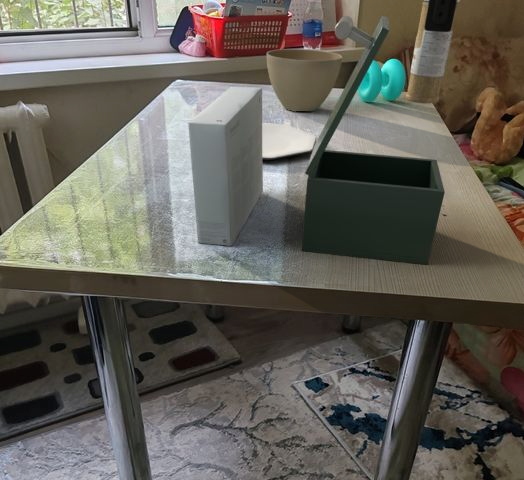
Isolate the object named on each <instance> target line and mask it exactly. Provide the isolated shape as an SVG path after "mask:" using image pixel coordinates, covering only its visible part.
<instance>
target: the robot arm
mask: <svg viewBox="0 0 524 480" xmlns="http://www.w3.org/2000/svg"><path fill="white" fill-rule="evenodd" d="M456 3H457V0H429V4H428V9H427V15H426V21H425V26H424V28H425V30H426V31H439V32H449V31H450V30H451V28H452V23H453V18H454V13H455V8H456Z"/></svg>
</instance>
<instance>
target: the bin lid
mask: <svg viewBox="0 0 524 480" xmlns="http://www.w3.org/2000/svg"><path fill="white" fill-rule="evenodd" d="M389 23H390V21H389V18H388V17H386V16H385V15H381V18H380V19H379V21H378V23H377V25H376V27H375V29H374V31H373V33H372V35H370V34H369V33H367V32H365V31H364V30H362V29H361V28H359V27H357V26H356V25H354V24H355V23H354V19H353V18H352V17H350V16H349V15H344V16H342V17H341V18H340V19H339V20H338V22H337V24H336V25H335V27H334V34H335V37H336V38H337V39H338V40H341V41H345V40H347V39H350V40H352V41H353V42H355V43H356V44H358V45H360V46H362V47H363V48H364V49H363V52H362V54H361V56H360V58H359V60H358V61H357V64H356V65H355V67H354V68H353V71H352V73H351V75H350V77H349V79H348V80H347V82H346V85H345V86H344V88H343V89H342V92H341V94H340V96H339V98H338V100H337V102H336V103H335V105H334V107H333V109H332V111H331V113H330V115H329V117H328V119H327V120H326V123H325V124H324V126H323V128H322V130H321V132H320V134H319V136H318V138H317V139H316V141H315V144H314V148H313V151H311V154H310V157H309V160H308V163H307V166H306V169H305V171H304V174H305V175H307V177H308V176H311V175H312V173H313V171H314V169H315V167H316V166H317V164H318V162H319V160H320V158H321V156H322V154H323V153H324V151H325V150H327V147H328V145H329V143H330V142H331V140H332V138H333V136H334V134H335V133H336V130H337V128H338V127H339V125H340V123H341V121H342V119H343V117H344V116H345V113H346V112H347V110H348V109H349V106H350V104H351V103H352V101H353V99H354V98H355V96H356V93H357V90H358V88H359V86H360V84H361V82H362V80H363V78H364V77H365V75H366V73H367V71H368V69H369V67H370V65H371V64H372V62H373V60H374V61H375V58H376V56H377V54H378V52H379V51H380V49H381V47H382V45H383V43H384V41H385V39H386V38H387V36H388V34H389V32H390V24H389Z"/></svg>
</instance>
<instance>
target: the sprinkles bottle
mask: <svg viewBox="0 0 524 480" xmlns="http://www.w3.org/2000/svg"><path fill="white" fill-rule="evenodd" d="M460 2H461V0H457V3H456V8H455V13H454V18H453V23H452V28H451V30H450V31H449V32H439V31H426V30H425V28H424V26H425V21H426V15H427V9H428V4H429V0H423V2H422V8H421V12H420V19H419V24H418V30H417V35H416V38H415V42H414V43H415V44H414V50H413V56H412V61H411V67H410V76H409V80H408V85H407V86H408V87H407V92H406V94H405V99H406V100H407V101H408V102H411V103H417V104H423V105H424V104H426V105H430V104H435V103H438V102H439V100H440V92H441V88H442V83H443V79H444V78H443V77H444V75H445V71H446V66H447V63H448V62H447V61H448V56H449V53H450V47H451V43H452V37H453V33H454V31H453V30H454V24H455V19H456V16H457V11H458V10H457V9H458V7H459V3H460Z"/></svg>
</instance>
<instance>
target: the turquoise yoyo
mask: <svg viewBox="0 0 524 480" xmlns="http://www.w3.org/2000/svg"><path fill="white" fill-rule="evenodd" d="M405 85H406V69H405V67H404V65H403V63H402V62H401V61H400V60H399V59H397V58H391V59H389V60H387V61H386V62H385V63H384V64H383V65H382V67H381V66H380V64H379V63H378V62H377V61H376V60H375V59H374V60H373V62H372V64H371V65H370V67H369V69H368V71H367V73H366V75H365V77H364V78H363V80H362V82H361V84H360V86H359V88H358V90H357V91H356V93H357V95H358V97H359V98H360V100H361V101H363V102H364V103H371V102H373V101H375V100H376V99H377V98H378V97H379V95H381V96H382V98H383V99H384V100H385V101H390V102H393V101H395V100H397V99H398V98H399V97H400V96H401V95H402V93H403V91H404V88H405Z"/></svg>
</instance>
